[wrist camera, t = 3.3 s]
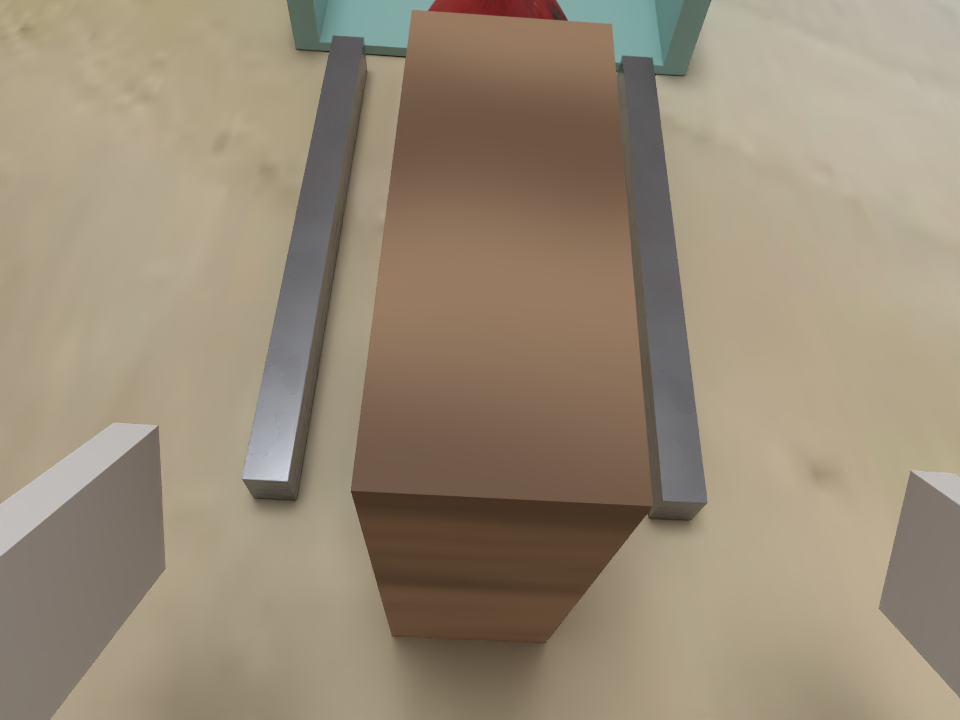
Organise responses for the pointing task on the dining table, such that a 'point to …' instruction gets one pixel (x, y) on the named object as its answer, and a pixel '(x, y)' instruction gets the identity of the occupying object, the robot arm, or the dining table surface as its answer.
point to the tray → (623, 3)
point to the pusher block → (502, 334)
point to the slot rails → (313, 264)
